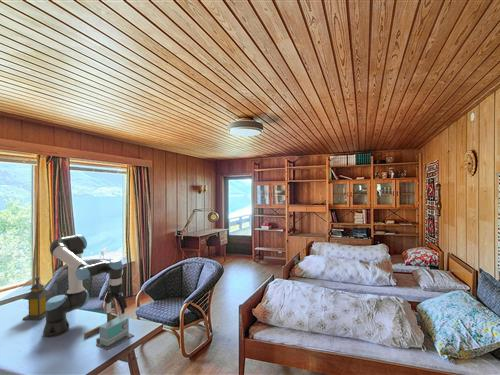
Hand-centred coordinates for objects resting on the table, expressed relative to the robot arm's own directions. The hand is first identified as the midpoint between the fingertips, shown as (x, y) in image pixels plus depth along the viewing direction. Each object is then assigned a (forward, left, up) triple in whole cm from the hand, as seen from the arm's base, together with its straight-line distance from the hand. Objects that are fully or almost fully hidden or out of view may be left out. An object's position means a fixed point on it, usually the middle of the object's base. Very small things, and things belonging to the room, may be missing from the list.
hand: (115, 315), depth 184 cm
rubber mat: (+1, -1, -16) cm, 16 cm away
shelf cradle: (-13, 0, -16) cm, 21 cm away
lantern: (-82, -9, -16) cm, 84 cm away
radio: (+1, -1, -16) cm, 16 cm away
